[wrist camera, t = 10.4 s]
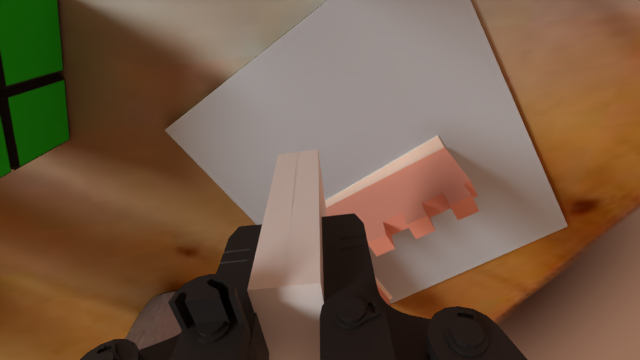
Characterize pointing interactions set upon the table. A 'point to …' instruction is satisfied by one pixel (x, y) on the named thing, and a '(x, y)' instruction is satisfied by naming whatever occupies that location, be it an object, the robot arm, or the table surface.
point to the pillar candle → (154, 323)
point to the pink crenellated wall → (410, 200)
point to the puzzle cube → (30, 82)
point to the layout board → (382, 127)
